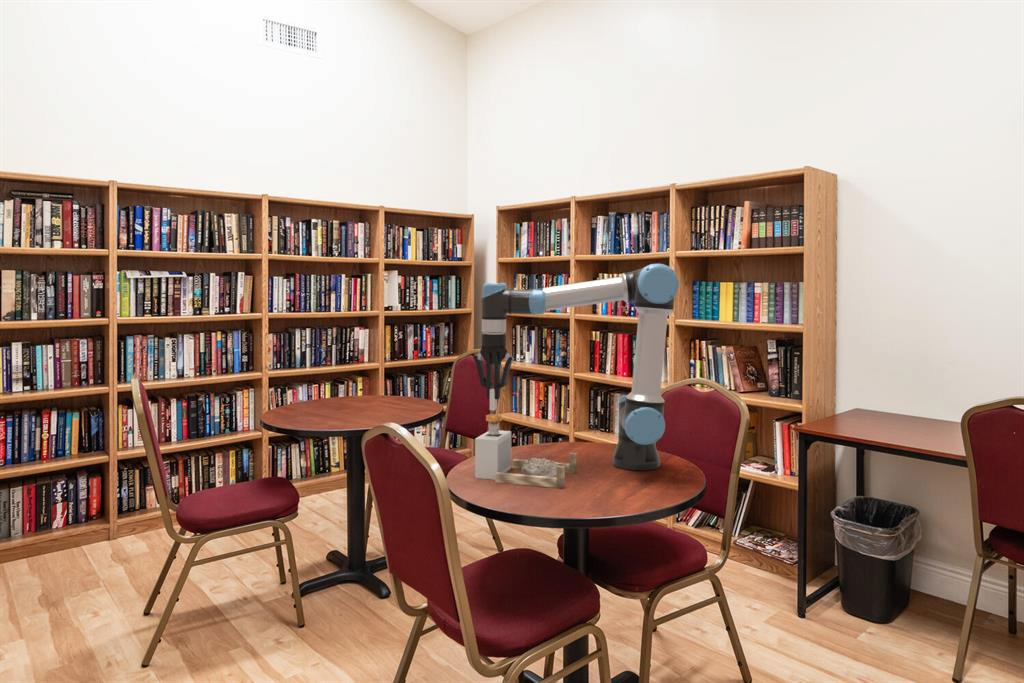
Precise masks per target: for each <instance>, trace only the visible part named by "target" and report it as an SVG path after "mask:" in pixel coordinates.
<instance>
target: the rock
mask: <svg viewBox="0 0 1024 683" xmlns="http://www.w3.org/2000/svg"><path fill="white" fill-rule="evenodd" d="M527 460H528V462H525V464H523V466H522V468H521V469H520V474H525V475H536V476H548V477H556V473H557V466H558V464H557V463H555V462H556V461H553V460H552V459H547V458H545V457H543V458H540V457H539V458H537V457H531V458H530V459H527Z"/></svg>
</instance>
